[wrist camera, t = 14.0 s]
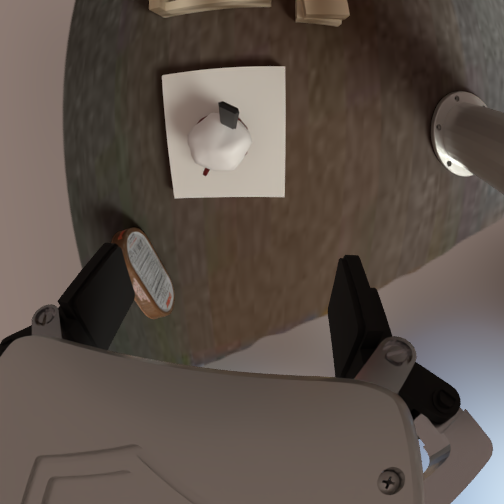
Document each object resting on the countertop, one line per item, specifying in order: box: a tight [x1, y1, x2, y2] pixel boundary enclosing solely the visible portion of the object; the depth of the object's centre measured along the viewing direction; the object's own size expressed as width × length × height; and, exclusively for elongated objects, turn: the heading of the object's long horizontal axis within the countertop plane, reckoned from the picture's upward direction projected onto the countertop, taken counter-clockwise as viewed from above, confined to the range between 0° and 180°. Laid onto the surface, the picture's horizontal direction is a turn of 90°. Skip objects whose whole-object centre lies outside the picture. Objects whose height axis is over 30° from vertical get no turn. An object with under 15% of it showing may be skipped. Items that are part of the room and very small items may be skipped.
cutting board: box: [162, 66, 285, 198], centre depth 31 cm, size 14×16×2 cm
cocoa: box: [187, 101, 252, 176], centre depth 26 cm, size 10×6×12 cm, turn 131°
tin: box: [111, 227, 175, 319], centre depth 40 cm, size 15×3×8 cm, turn 18°
